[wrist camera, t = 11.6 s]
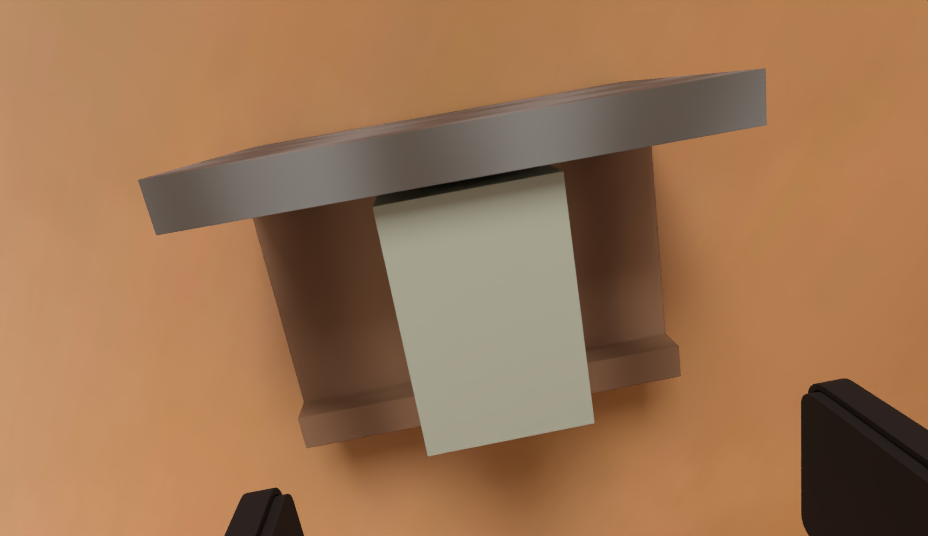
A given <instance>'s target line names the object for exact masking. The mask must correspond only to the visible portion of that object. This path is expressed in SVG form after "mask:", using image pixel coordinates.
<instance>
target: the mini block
mask: <svg viewBox="0 0 928 536" xmlns="http://www.w3.org/2000/svg"><path fill="white" fill-rule="evenodd" d="M373 212H374V216H375V221H376V225H377V230H378V234H379V239H380V243H381V248H382V252H383V257H384V261H385V266H386V270H387V275H388V279H389V284H390V288H391V293H392V297H393V302H394V306H395V311H396V315H397V320H398V324H399V329H400V333H401V338H402V342H403V347H404V351H405V356H406V360H407V365H408V369H409V374H410V378H411V383H412V387H413V392H414V396H415V401H416V405H417V410H418V414H419V419H420V423H421V428H422V432H423V437H424V441H425V446H426V450H427V455H428V456H432V455H437V454H442V453H447V452H452V451H458V450H463V449H468V448H473V447H478V446H483V445H488V444H493V443H498V442H503V441H508V440H513V439H518V438H523V437H528V436H533V435H538V434H543V433H548V432H553V431H558V430H563V429H568V428H573V427H578V426H583V425H588V424H593V423H595V422H594V414H593V406H592V398H591V390H590V382H589V374H588V366H587V358H586V350H585V342H584V334H583V326H582V318H581V310H580V302H579V294H578V286H577V278H576V270H575V262H574V253H573V245H572V237H571V229H570V221H569V213H568V205H567V197H566V189H565V181H564V173H563V171H561V170H559V169H557V168H555V167H553V166H551V165H549V164H548V165H543V166H537V167H532V168H526V169H521V170H515V171H510V172H504V173H499V174H493V175H487V176H482V177H476V178H471V179H465V180H460V181H454V182H449V183H443V184H438V185H432V186H427V187H421V188H416V189H410V190H404V191H399V192H393V193H388V194H382V195H377V197H376V199H375V202H374V204H373Z"/></svg>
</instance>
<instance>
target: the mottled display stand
mask: <svg viewBox="0 0 928 536" xmlns="http://www.w3.org/2000/svg"><path fill="white" fill-rule="evenodd" d="M764 125H767V121H766V68H765V69H755V70H744V71H733V72H723V73H712V74H701V75H690V76H680V77H669V78H658V79H648V80H637V81H626V82H619V83H613V84H608V85H602V86H597V87H591V88H585V89H580V90H574V91H568V92H563V93H557V94H551V95H546V96H540V97H534V98H529V99H523V100H517V101H512V102H506V103H501V104H495V105H489V106H484V107H478V108H472V109H467V110H461V111H455V112H450V113H444V114H438V115H433V116H427V117H421V118H416V119H410V120H405V121H399V122H393V123H388V124H382V125H376V126H371V127H365V128H359V129H354V130H348V131H342V132H337V133H331V134H326V135H320V136H314V137H309V138H303V139H297V140H292V141H286V142H280V143H275V144H269V145H263V146H258V147H253V148H249V149H246V150H242V151H239V152H235V153H232V154H228V155H224V156H221V157H217V158H214V159H210V160H207V161H203V162H200V163H196V164H193V165H189V166H186V167H182V168H179V169H175V170H172V171H168V172H165V173H161V174H157V175H154V176H150V177H147V178H143V179H140V180H138V181H139V184H140V187H141V190H142V193H143V196H144V200H145V203H146V206H147V209H148V212H149V215H150V218H151V221H152V224H153V227H154V230H155V233H156V235H161V234H166V233H172V232H178V231H183V230H189V229H194V228H200V227H205V226H211V225H216V224H222V223H227V222H233V221H238V220H244V219H249V218H253V220H254V224H255V227H256V231H257V235H258V238H259V242H260V245H261V249H262V253H263V256H264V260H265V263H266V267H267V271H268V274H269V278H270V281H271V285H272V289H273V292H274V296H275V299H276V303H277V306H278V310H279V314H280V317H281V321H282V324H283V328H284V332H285V335H286V339H287V342H288V346H289V350H290V353H291V357H292V360H293V364H294V368H295V371H296V375H297V378H298V382H299V386H300V389H301V393H302V396H303V400H304V404H303V407H302V410H301V412H300V415H299V418H298V420H299V423H300V427H301V430H302V434H303V437H304V441H305V444H306V448H311V447H316V446H321V445H326V444H331V443H337V442H342V441H347V440H352V439H357V438H363V437H368V436H373V435H378V434H383V433H389V432H394V431H399V430H404V429H409V428H414V427H420V426H421V423H420V419H419V414H418V410H417V405H416V401H415V396H414V392H413V387H412V383H411V378H410V374H409V369H408V365H407V360H406V356H405V351H404V347H403V342H402V338H401V333H400V329H399V324H398V320H397V315H396V311H395V306H394V302H393V297H392V293H391V288H390V284H389V279H388V275H387V270H386V266H385V261H384V257H383V252H382V248H381V243H380V239H379V234H378V230H377V225H376V221H375V216H374V212H373V204H374V202H375V199H376V197H377V195H382V194H388V193H393V192H399V191H404V190H410V189H416V188H421V187H427V186H432V185H438V184H443V183H449V182H454V181H460V180H465V179H471V178H476V177H482V176H487V175H493V174H499V173H504V172H510V171H515V170H521V169H526V168H532V167H537V166H543V165H548V164H549V165H551V166H553V167H555V168H557V169H559V170H561V171H563V173H564V181H565V189H566V197H567V205H568V213H569V221H570V229H571V237H572V245H573V253H574V262H575V270H576V278H577V286H578V294H579V302H580V310H581V318H582V326H583V334H584V342H585V350H586V358H587V366H588V374H589V382H590V390H591V393H596V392H601V391H606V390H612V389H617V388H622V387H627V386H632V385H638V384H643V383H648V382H653V381H658V380H664V379H669V378H674V377H679V376H681V374H680V360H679V346H678V345H677V344H676V343H675V342H674V341H673V340H672V339H671V338H670V337H669V336H668V335H666V334H665V321H664V308H663V294H662V281H661V268H660V254H659V241H658V227H657V214H656V201H655V187H654V174H653V161H652V147H651V146H654V145H659V144H665V143H670V142H676V141H681V140H687V139H692V138H698V137H703V136H709V135H714V134H720V133H725V132H731V131H737V130H742V129H748V128H753V127H759V126H764Z"/></svg>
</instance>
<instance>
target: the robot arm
mask: <svg viewBox="0 0 928 536" xmlns="http://www.w3.org/2000/svg"><path fill="white" fill-rule="evenodd" d="M801 515H802V521H803V525H804V527H805V529H806V531H807V533H808V535H809V536H928V430H927V429H925V428H924V427H922V426H921V425H919V424H918V423H916V422H915V421H913V420H912V419H910V418H908V417H907V416H905V415H904V414H902V413H901V412H899V411H898V410H896V409H895V408H893V407H891V406H890V405H888V404H887V403H885V402H884V401H882V400H881V399H879V398H878V397H876V396H874V395H873V394H871V393H870V392H868V391H867V390H865V389H864V388H862V387H861V386H859V385H857V384H856V383H854V382H853V381H851V380H849V379H838V380H833V381H827V382H822V383H817V384H813V385H812V386H810V388H809V390H808V394H805V395H804V396H803V397H802V401H801ZM225 536H304V534H303V531H302V528H301V524H300V521H299V518H298V514H297V511H296V508H295V504H294V501H293V498H292V496H291V495H290V494H285V495H282V493H281V491H280V490H279V489H278V488H271V489H266V490H261V491H256V492H251V493H246V494H244V495H243V496H242V498H241V500H240V502H239V504H238V506H237V509H236V511H235V513H234V515H233V518H232V520H231V522H230V524H229V527H228V529H227V531H226V533H225Z"/></svg>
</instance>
